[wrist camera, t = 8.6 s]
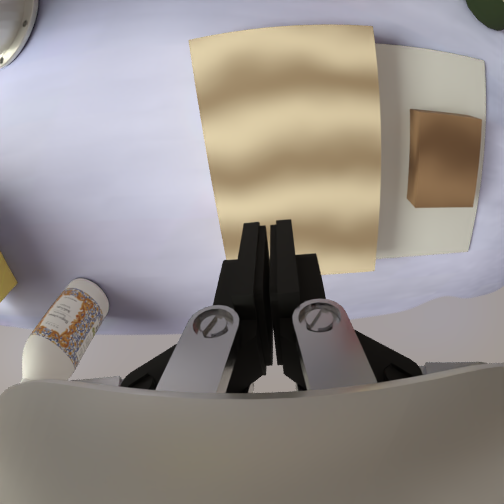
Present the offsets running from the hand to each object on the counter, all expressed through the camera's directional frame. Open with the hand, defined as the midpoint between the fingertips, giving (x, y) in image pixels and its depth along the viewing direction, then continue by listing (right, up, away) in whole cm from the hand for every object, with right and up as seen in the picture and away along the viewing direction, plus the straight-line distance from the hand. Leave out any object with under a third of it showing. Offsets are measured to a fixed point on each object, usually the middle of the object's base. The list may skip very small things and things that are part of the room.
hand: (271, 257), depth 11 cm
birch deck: (+3, +9, +16) cm, 19 cm away
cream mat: (+17, +9, +14) cm, 24 cm away
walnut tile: (+17, +8, +12) cm, 23 cm away
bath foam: (-24, -6, +28) cm, 37 cm away
